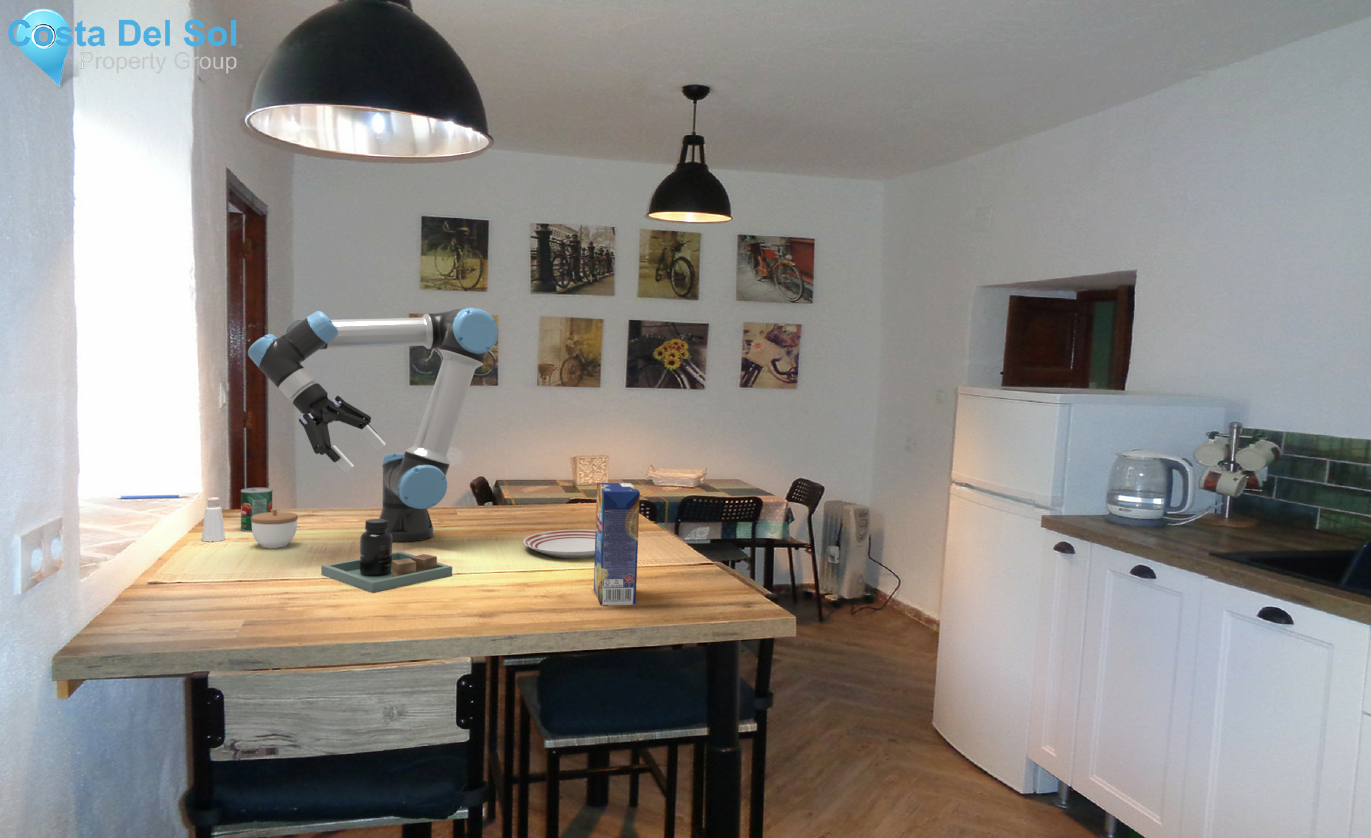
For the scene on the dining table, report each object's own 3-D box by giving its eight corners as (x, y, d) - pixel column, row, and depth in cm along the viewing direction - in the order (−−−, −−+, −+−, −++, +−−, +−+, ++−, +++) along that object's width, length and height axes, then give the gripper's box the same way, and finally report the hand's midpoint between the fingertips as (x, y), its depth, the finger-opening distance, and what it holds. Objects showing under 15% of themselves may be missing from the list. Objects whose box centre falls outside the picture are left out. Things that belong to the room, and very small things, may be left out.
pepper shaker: (196, 540, 221) (196, 498, 220) (216, 536, 226) (216, 495, 225) (210, 543, 219) (210, 500, 218) (230, 539, 224) (230, 497, 223)
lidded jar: (305, 542, 224) (306, 507, 223) (282, 551, 213) (282, 514, 212) (267, 540, 225) (267, 504, 224) (241, 549, 214) (241, 511, 214)
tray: (400, 563, 206) (400, 551, 206) (451, 579, 194) (452, 566, 193) (321, 578, 190) (321, 565, 190) (372, 597, 178) (372, 583, 178)
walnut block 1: (409, 576, 192) (409, 558, 191) (415, 580, 188) (416, 562, 188) (391, 578, 189) (391, 560, 189) (397, 582, 186) (397, 564, 186)
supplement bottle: (352, 574, 191) (353, 521, 190) (374, 567, 198) (375, 516, 197) (377, 578, 189) (377, 524, 188) (398, 571, 195) (399, 519, 194)
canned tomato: (278, 528, 239) (279, 489, 238) (254, 533, 232) (254, 493, 231) (258, 525, 242) (258, 486, 242) (234, 529, 235) (234, 490, 234)
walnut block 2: (423, 571, 196) (423, 553, 196) (436, 573, 194) (436, 556, 194) (410, 574, 193) (410, 557, 192) (423, 577, 191) (423, 559, 191)
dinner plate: (506, 558, 216) (506, 545, 216) (543, 536, 243) (543, 524, 243) (611, 567, 211) (612, 554, 211) (637, 544, 238) (638, 532, 238)
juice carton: (635, 604, 180) (639, 491, 178) (600, 605, 178) (604, 491, 176) (626, 589, 192) (630, 482, 190) (593, 590, 190) (597, 482, 188)
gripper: (327, 385, 217) (385, 447, 219) (260, 419, 194) (326, 488, 196) (344, 367, 214) (403, 431, 216) (278, 399, 191) (344, 470, 193)
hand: (366, 458), depth 206 cm, fingers open, 13 cm apart
